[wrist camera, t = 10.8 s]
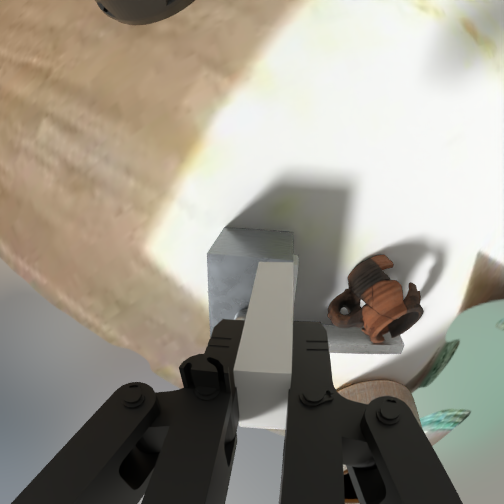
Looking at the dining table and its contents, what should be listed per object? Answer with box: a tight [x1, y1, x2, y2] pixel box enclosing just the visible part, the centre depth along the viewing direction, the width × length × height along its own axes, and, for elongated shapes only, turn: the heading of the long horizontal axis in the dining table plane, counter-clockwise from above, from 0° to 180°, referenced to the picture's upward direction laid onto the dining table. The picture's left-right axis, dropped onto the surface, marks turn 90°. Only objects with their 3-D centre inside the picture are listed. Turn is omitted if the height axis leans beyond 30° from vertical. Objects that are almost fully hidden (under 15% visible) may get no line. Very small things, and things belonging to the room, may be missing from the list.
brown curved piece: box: [327, 255, 423, 343], centre depth 35 cm, size 12×10×8 cm
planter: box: [338, 380, 422, 504], centre depth 38 cm, size 18×18×16 cm
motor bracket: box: [207, 227, 404, 354], centre depth 33 cm, size 14×24×10 cm, turn 88°
